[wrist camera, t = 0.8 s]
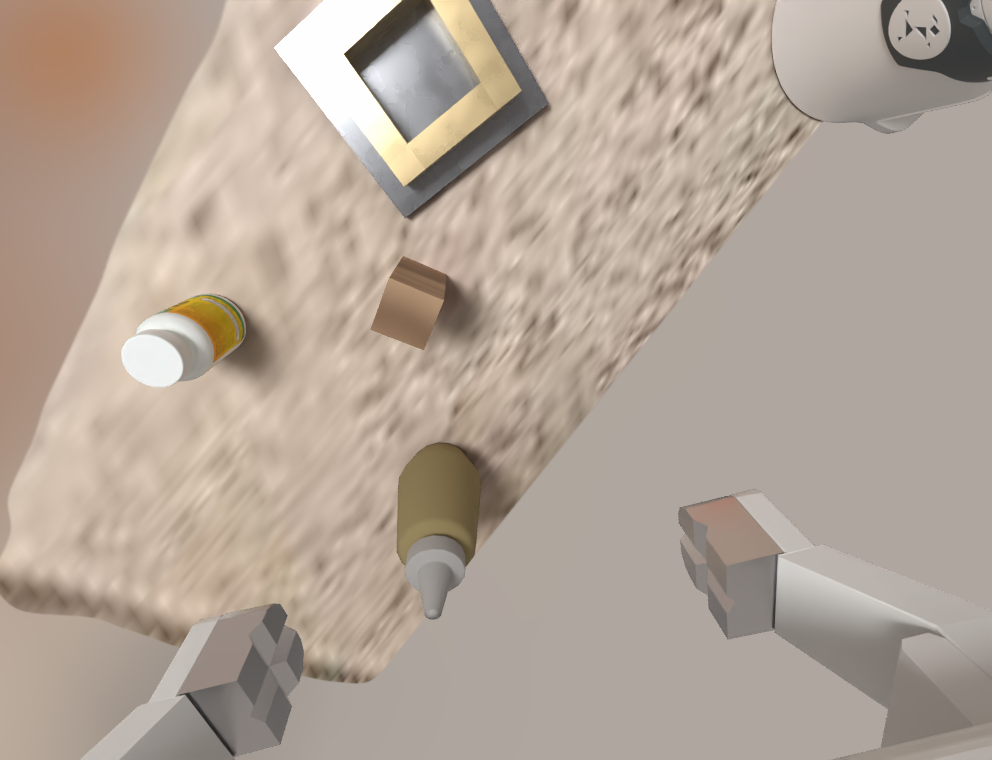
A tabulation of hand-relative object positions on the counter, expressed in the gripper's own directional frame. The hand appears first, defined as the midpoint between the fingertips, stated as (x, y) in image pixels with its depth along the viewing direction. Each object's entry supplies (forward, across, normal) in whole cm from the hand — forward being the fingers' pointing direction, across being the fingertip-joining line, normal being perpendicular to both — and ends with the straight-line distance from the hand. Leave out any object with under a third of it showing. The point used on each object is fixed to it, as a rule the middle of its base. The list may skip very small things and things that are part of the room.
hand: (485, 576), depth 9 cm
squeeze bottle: (+35, +7, +19) cm, 40 cm away
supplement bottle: (+35, +22, 0) cm, 41 cm away
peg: (+35, +4, +1) cm, 35 cm away
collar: (+34, -1, -14) cm, 37 cm away
